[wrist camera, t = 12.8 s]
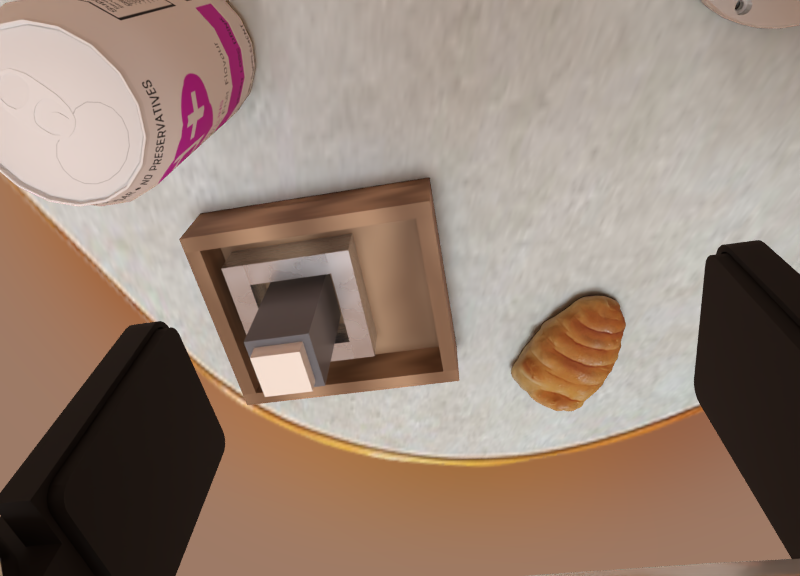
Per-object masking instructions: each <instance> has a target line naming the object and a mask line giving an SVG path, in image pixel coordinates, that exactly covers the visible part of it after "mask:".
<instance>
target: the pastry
mask: <svg viewBox="0 0 800 576" xmlns="http://www.w3.org/2000/svg"><path fill="white" fill-rule="evenodd" d="M625 326H626V323H625V320H624V317H623V315H622V313H621V310H620V305H619V304H618V302H617V301H615V300H613V299H611V298H609V297H605V296H587V297H582V298H580V299H578V300H576V301H575V302H574V303H573V304H572V305H571V306H569V307H568V308H566V309H565V310H564V311H562V312H560V313H559V314H558V315H556V316H555V317H553V318H550V319H548V320H547V321H545V322H544V323H543V324H542V326H541V328H540V330H539V331H538V332H537V333H536V334H535V336H534V337H533V338H532V339H531V341H530V342H529V343H528V344H527V345H526V346H525V348H524V349H523V351H522V352H521V354H520V355H519V357H518V360H517V361H516V362H515V364H514V365H513V367H512V369H511V374H512V377H513V378H514V380H515V381H516V382H517V383H518V384H519V385H520V387H521V388H522V389H523V390H525V391H527V392H528V394H529V395H530V396H531V398H533V399H534V400H535V401H536V402H538V403H540V404H542V405H544V406H546V407H548V408H551V409H553V410H556V411H562V410H565V411H574V410H576V409H577V408H580V407H582V405H583V403H584V401H585V400H586V399H588V398H589V397H590V396H591V395H593V394H594V393H595V392H596V391H597V390H598V389H599V387H601V386H602V384H603V382H604V380H605V379H606V378H607V376H608V374H609V373H610V372H611V371H612V368H613V366H614V363H615V361H616V360H617V358H618V352H619V350H620V348H621V339H622V336H623V332H624V329H625Z"/></svg>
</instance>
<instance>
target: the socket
mask: <svg viewBox="0 0 800 576" xmlns="http://www.w3.org/2000/svg"><path fill="white" fill-rule="evenodd" d="M221 269H222V272H223V275H224V277H225V280H226V282H227V285H228V288H229V290H230V293H231V296H232V298H233V301H234V303H235V306H236V309H237V311H238V314H239V317H240V319H241V322H242V324H243V327H244V330H245V332H246V335H247V333H248V331H249V329H250V327H251V325H252V322H253V320H254V318H255V316H256V313H257V311H258V309H259V307H260V304H261V302H262V300H263V298H264V296H265V293H266V291H267V289H266V286H265V283H268V282H275V281H282V280H289V279H296V278H303V277H310V276H318V275H325V274H331V275H332V279H333V283H334V286H335V290H336V293H337V297H338V301H339V304H340V308H341V312H342V315H343V319H344V323H342V324H339V326H338V331H337V335H336V340H335V344H334V349H333V353H332V358H331V361H340V360H348V359H356V358H364V357H372V356H375V350H376V342H377V333H376V329H375V325H374V321H373V316H372V312H371V308H370V304H369V300H368V296H367V292H366V288H365V283H364V279H363V275H362V271H361V267H360V263H359V259H358V255H357V251H356V246H355V242H354V238H353V234H345V235H338V236H332V237H325V238H318V239H311V240H305V241H298V242H291V243H285V244H278V245H271V246H264V247H258V248H251V249H244V250H237V251H232V252H231V254H230V255H229V257H228V259H227V260H226V262H225V263H224V265H223V267H222V268H221Z"/></svg>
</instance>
